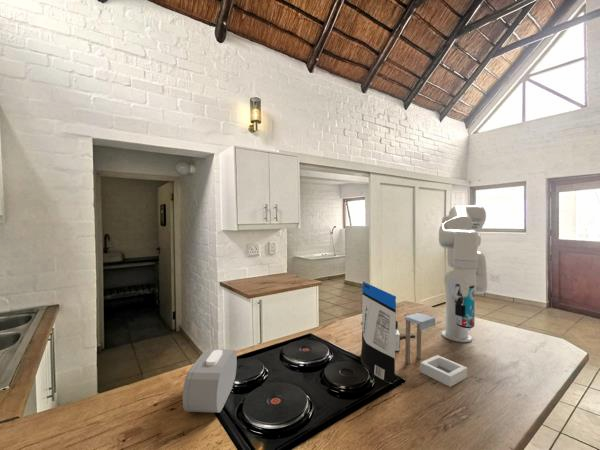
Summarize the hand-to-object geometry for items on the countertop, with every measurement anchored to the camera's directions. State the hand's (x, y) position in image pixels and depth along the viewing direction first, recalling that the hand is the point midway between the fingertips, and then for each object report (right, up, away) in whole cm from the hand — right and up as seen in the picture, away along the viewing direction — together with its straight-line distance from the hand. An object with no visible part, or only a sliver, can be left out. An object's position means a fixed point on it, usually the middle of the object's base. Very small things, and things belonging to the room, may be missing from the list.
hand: (464, 313), depth 101 cm
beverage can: (+1, -5, +1) cm, 5 cm away
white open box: (-10, -21, +1) cm, 24 cm away
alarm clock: (-87, -21, -17) cm, 91 cm away
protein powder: (-31, -21, +3) cm, 38 cm away
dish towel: (-15, -22, +40) cm, 49 cm away
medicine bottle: (-20, -21, +21) cm, 36 cm away
